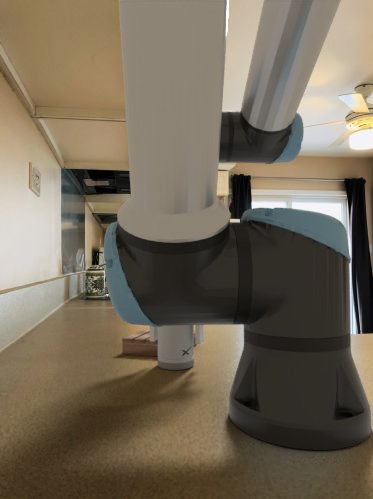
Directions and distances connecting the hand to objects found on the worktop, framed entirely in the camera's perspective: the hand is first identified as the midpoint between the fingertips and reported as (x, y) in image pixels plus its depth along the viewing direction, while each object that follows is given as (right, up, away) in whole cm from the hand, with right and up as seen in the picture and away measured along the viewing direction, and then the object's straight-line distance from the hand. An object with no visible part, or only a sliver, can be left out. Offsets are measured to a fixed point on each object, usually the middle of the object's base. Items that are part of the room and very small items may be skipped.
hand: (176, 341), depth 64 cm
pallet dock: (-3, -5, +12) cm, 14 cm away
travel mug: (0, -4, 0) cm, 4 cm away
